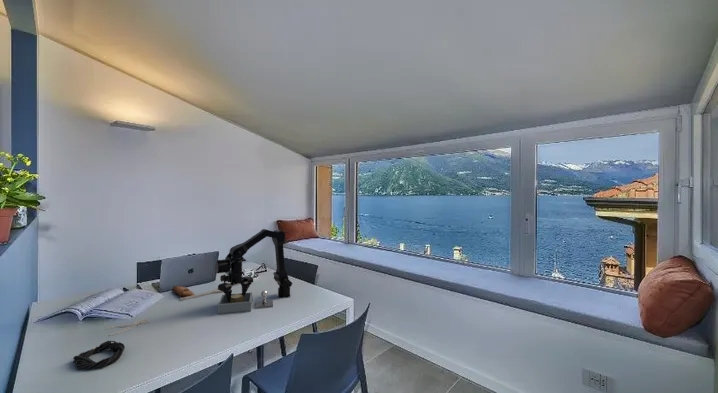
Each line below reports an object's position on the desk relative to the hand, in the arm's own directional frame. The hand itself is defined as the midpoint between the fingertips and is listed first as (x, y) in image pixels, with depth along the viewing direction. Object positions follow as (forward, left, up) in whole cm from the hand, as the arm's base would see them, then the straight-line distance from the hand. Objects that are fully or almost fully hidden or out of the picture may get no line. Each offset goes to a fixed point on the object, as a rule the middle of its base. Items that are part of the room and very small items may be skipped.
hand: (236, 299), depth 161 cm
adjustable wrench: (+21, -26, -5) cm, 34 cm away
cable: (+43, +40, -5) cm, 59 cm away
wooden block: (0, 0, -4) cm, 4 cm away
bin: (0, 0, -4) cm, 4 cm away
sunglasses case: (+33, -32, -5) cm, 46 cm away
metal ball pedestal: (-14, 0, -4) cm, 15 cm away
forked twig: (+45, +12, -5) cm, 47 cm away
